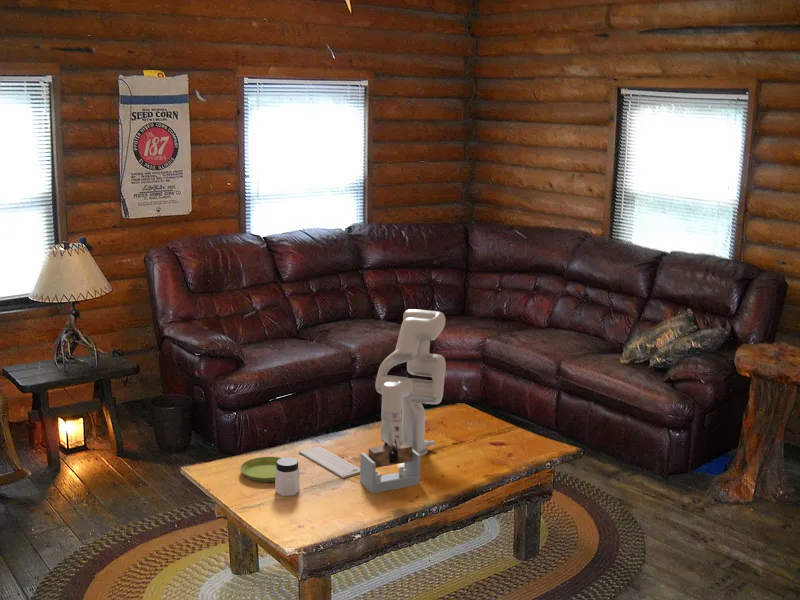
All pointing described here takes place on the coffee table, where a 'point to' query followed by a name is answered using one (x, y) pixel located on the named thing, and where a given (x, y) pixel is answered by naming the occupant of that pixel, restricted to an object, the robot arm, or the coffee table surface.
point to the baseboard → (331, 462)
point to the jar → (287, 476)
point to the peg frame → (389, 475)
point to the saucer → (260, 469)
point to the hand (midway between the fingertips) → (390, 459)
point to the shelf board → (383, 454)
